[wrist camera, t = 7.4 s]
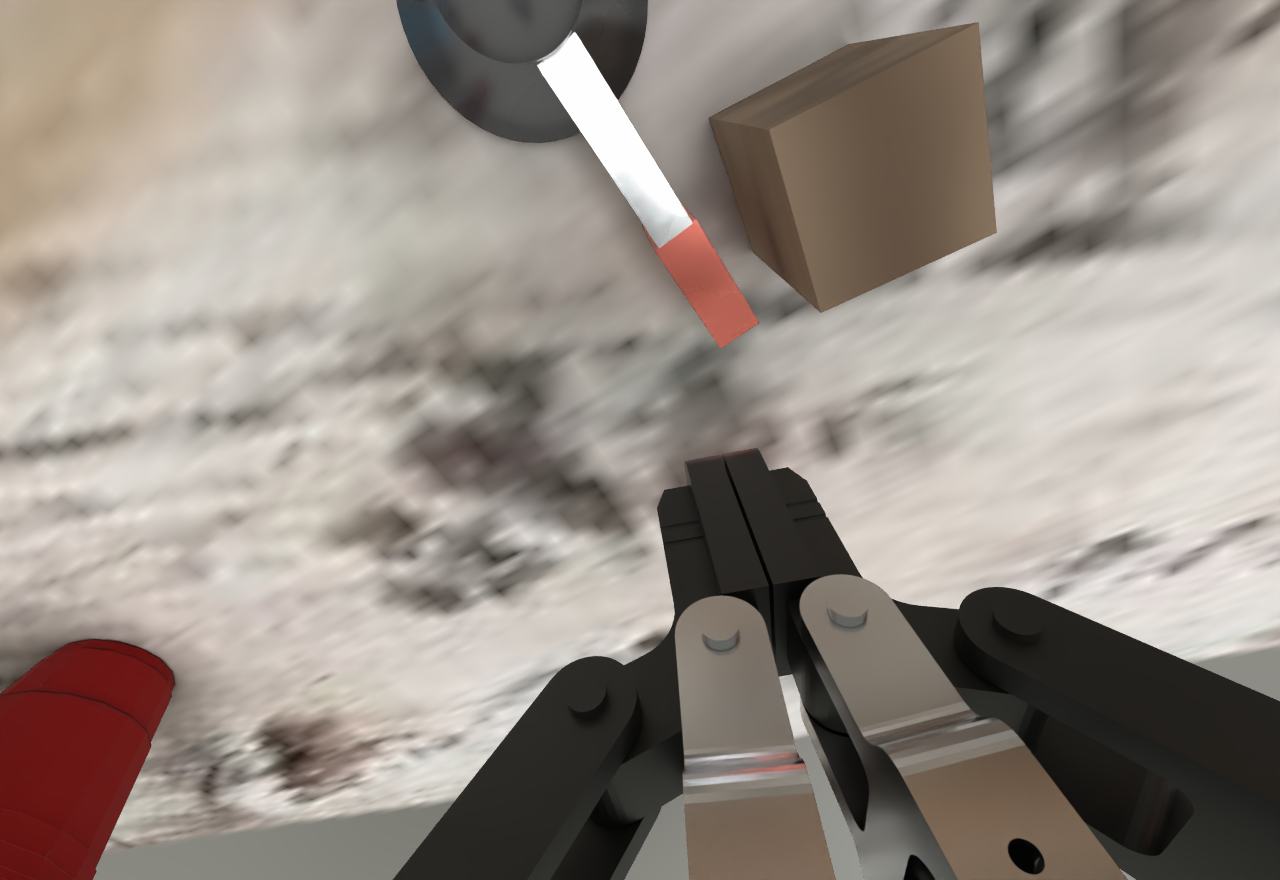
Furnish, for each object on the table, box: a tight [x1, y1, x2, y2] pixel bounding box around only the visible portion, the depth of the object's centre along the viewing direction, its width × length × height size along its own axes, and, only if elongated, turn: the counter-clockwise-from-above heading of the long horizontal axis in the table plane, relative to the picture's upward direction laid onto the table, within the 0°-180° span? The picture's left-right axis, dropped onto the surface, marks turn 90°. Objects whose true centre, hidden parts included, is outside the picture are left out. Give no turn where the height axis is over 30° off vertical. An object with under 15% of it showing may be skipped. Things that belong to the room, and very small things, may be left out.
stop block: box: [709, 22, 997, 313], centre depth 17 cm, size 5×5×7 cm
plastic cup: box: [0, 640, 175, 880], centre depth 25 cm, size 11×11×12 cm
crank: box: [537, 32, 759, 348], centre depth 18 cm, size 10×2×4 cm, turn 35°
